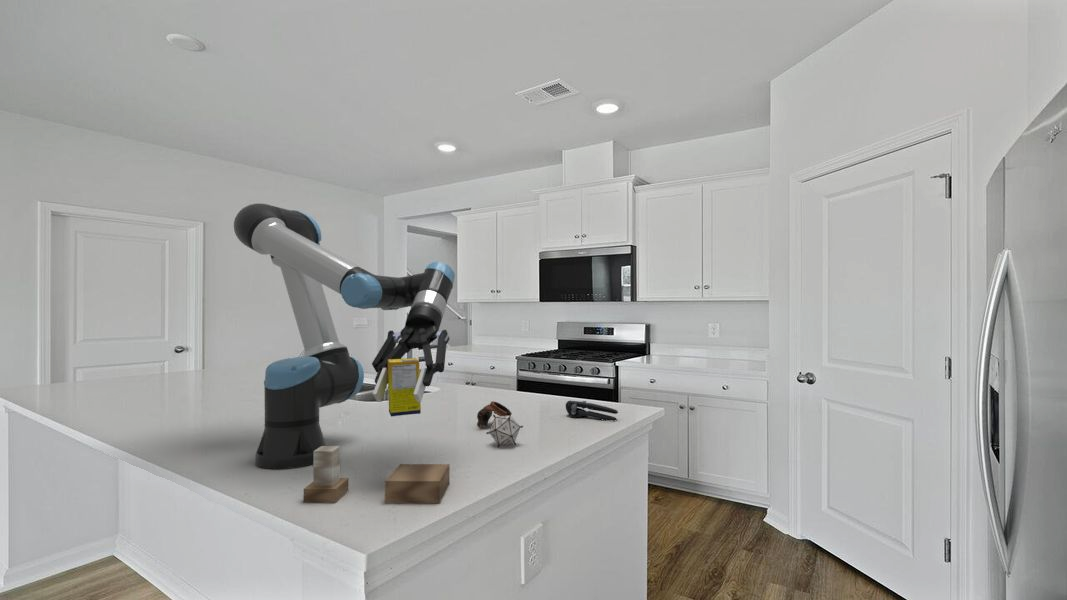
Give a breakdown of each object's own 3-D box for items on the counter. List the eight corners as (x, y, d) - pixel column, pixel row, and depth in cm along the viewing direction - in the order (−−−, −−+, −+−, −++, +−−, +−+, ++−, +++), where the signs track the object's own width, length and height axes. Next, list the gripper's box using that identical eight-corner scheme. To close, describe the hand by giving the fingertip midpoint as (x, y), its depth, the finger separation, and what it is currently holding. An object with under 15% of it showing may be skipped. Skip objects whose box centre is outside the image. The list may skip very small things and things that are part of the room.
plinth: (384, 502, 93) (384, 480, 93) (400, 483, 102) (400, 463, 103) (439, 503, 92) (439, 481, 92) (449, 484, 102) (449, 464, 102)
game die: (510, 461, 130) (521, 435, 125) (479, 449, 130) (489, 422, 125) (518, 436, 138) (529, 410, 132) (489, 425, 138) (498, 399, 133)
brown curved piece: (484, 422, 159) (497, 400, 159) (506, 439, 154) (519, 416, 154) (463, 420, 149) (477, 396, 149) (485, 438, 144) (500, 413, 144)
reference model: (303, 502, 93) (303, 453, 93) (317, 490, 99) (318, 444, 99) (335, 502, 93) (336, 453, 93) (348, 490, 99) (348, 444, 99)
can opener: (561, 418, 164) (561, 400, 164) (570, 414, 170) (570, 397, 170) (613, 424, 156) (613, 405, 156) (621, 419, 162) (621, 402, 162)
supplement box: (417, 408, 107) (416, 357, 107) (421, 414, 102) (419, 359, 102) (388, 411, 105) (387, 358, 105) (390, 417, 100) (389, 361, 100)
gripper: (473, 325, 117) (451, 409, 101) (389, 326, 121) (355, 408, 104) (465, 302, 112) (441, 386, 96) (378, 304, 115) (341, 386, 99)
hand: (396, 397), depth 100 cm, fingers closed on supplement box, 8 cm apart
